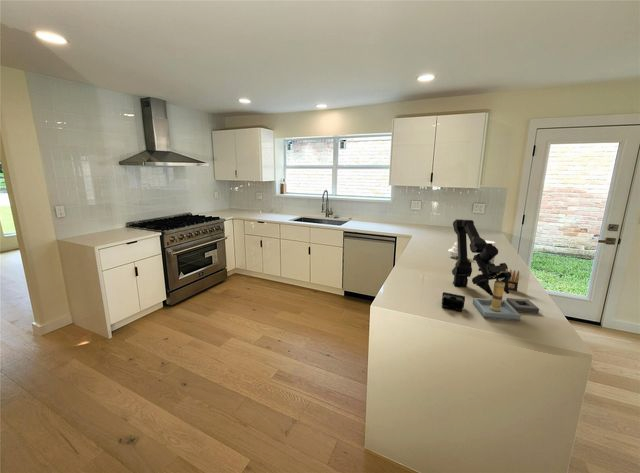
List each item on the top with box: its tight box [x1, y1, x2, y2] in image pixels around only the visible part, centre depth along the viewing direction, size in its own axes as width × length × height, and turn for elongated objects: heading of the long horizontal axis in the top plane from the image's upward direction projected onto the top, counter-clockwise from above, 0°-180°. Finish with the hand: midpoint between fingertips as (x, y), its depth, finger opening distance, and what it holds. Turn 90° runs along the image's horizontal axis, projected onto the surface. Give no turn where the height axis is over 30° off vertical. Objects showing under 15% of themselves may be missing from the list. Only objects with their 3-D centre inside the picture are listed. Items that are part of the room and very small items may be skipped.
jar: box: [484, 239, 497, 264], centre depth 199 cm, size 10×10×18 cm
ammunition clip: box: [495, 268, 520, 292], centre depth 162 cm, size 11×2×12 cm, turn 57°
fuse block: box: [506, 297, 540, 314], centre depth 141 cm, size 10×10×2 cm
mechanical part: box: [448, 241, 458, 258], centre depth 220 cm, size 11×12×12 cm
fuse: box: [490, 280, 505, 312], centre depth 135 cm, size 4×4×14 cm
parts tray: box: [472, 297, 522, 322], centre depth 137 cm, size 15×15×3 cm
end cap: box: [441, 291, 466, 313], centre depth 140 cm, size 10×7×7 cm
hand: (500, 294), depth 133 cm, fingers open, 9 cm apart
